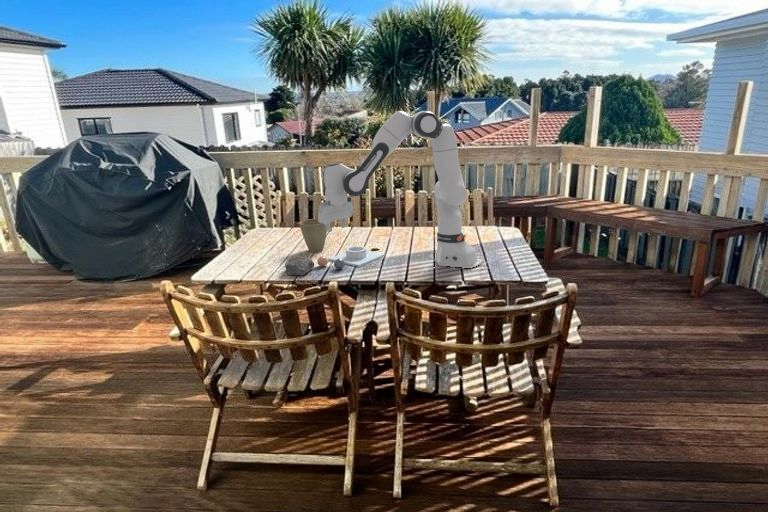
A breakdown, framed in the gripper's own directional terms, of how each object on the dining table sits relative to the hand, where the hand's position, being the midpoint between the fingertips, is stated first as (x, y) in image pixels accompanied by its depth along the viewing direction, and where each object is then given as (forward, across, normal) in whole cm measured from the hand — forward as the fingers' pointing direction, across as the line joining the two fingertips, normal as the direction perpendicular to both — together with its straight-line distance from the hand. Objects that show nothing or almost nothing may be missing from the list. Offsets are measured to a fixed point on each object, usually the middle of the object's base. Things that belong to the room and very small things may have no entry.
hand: (336, 229), depth 206 cm
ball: (+17, -1, +10) cm, 19 cm away
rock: (+20, -12, +14) cm, 27 cm away
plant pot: (+20, +18, +32) cm, 42 cm away
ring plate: (+19, +17, +3) cm, 26 cm away
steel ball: (+16, 0, 0) cm, 17 cm away
